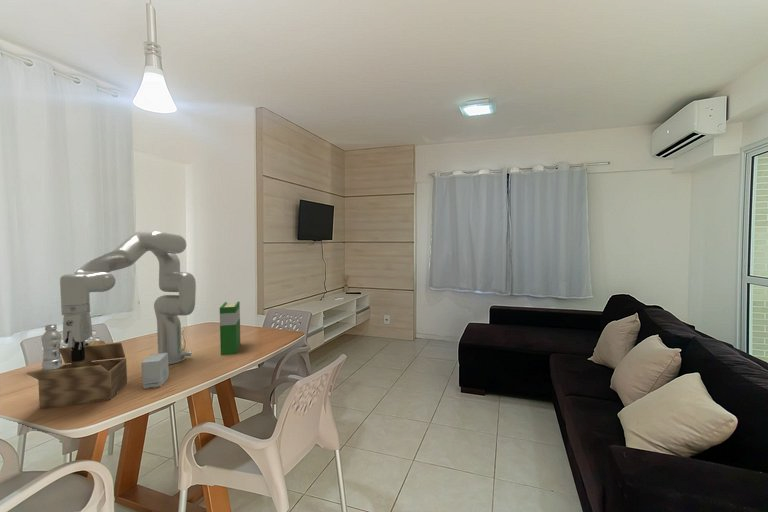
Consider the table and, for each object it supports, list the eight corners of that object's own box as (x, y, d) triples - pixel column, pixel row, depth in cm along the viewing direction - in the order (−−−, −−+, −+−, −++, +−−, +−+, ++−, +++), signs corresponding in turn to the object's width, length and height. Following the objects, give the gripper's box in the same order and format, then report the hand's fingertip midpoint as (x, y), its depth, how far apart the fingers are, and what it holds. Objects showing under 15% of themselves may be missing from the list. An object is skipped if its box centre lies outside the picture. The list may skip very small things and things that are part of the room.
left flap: (100, 365, 117) (100, 366, 116) (108, 371, 123) (108, 372, 123) (27, 372, 110) (26, 374, 110) (39, 378, 116) (39, 380, 116)
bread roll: (110, 351, 180) (109, 336, 180) (103, 360, 167) (102, 343, 167) (86, 354, 176) (85, 339, 175) (77, 363, 162) (76, 346, 162)
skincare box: (151, 378, 142) (151, 353, 142) (169, 377, 144) (168, 352, 144) (141, 389, 132) (140, 362, 132) (160, 386, 134) (159, 360, 134)
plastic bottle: (50, 367, 157) (48, 324, 156) (66, 366, 157) (64, 323, 157) (37, 372, 150) (35, 327, 150) (54, 372, 151) (52, 326, 150)
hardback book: (225, 345, 189) (224, 302, 188) (240, 344, 191) (239, 301, 191) (220, 355, 172) (219, 307, 172) (236, 353, 174) (235, 306, 174)
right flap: (125, 357, 138) (125, 356, 138) (120, 343, 134) (121, 342, 134) (64, 363, 131) (65, 362, 132) (58, 349, 127) (59, 348, 128)
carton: (127, 382, 138) (126, 358, 138) (111, 399, 123) (110, 371, 123) (64, 390, 131) (63, 364, 131) (39, 409, 116) (38, 379, 116)
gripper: (79, 312, 115) (81, 366, 116) (98, 304, 129) (100, 352, 130) (50, 314, 113) (53, 369, 113) (73, 306, 127) (75, 355, 127)
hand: (78, 360), depth 122 cm, fingers closed
